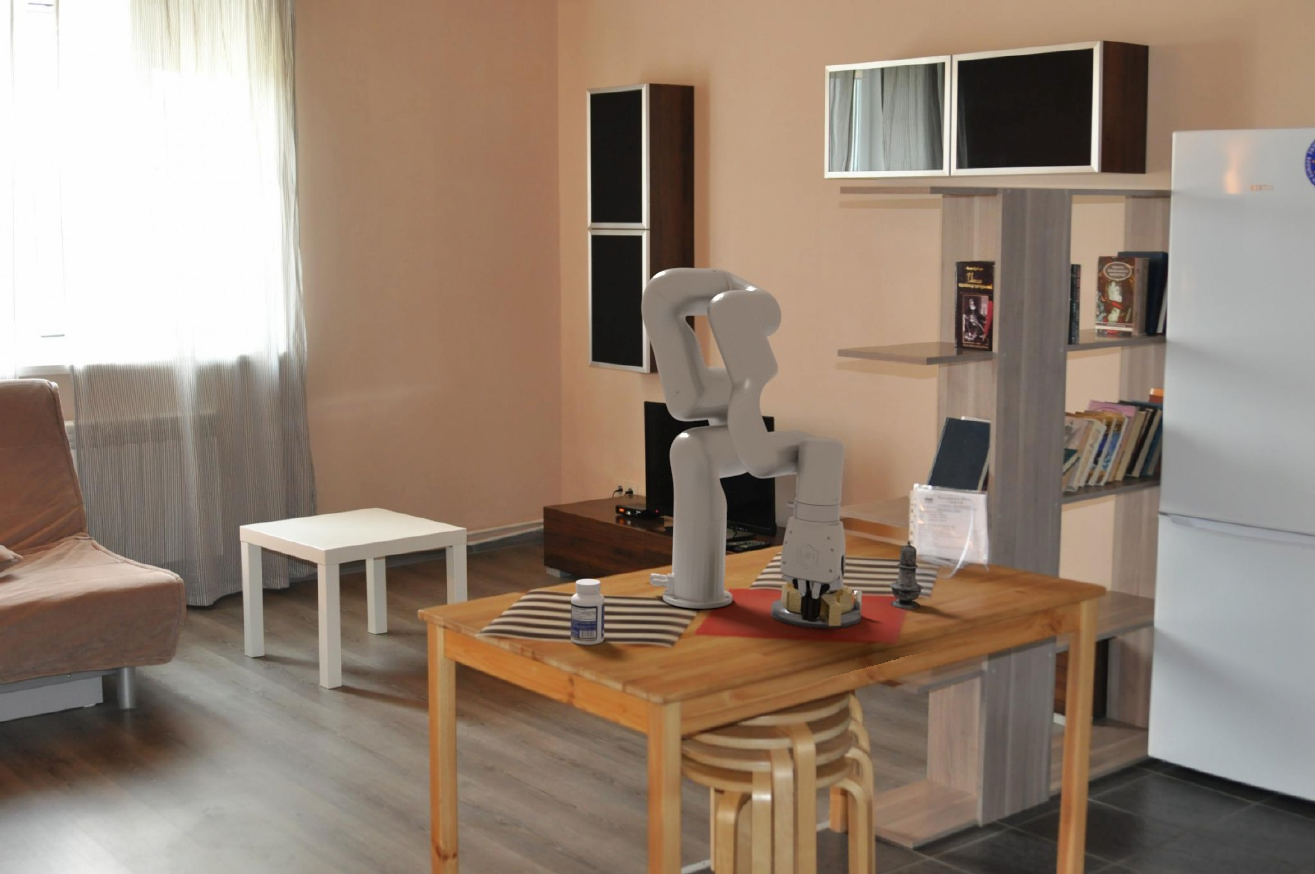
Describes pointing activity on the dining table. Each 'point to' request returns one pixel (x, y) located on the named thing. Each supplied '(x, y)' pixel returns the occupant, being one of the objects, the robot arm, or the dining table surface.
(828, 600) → the ring nut
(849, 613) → the spindle base
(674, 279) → the robot arm
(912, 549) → the salt shaker
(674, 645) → the dining table surface
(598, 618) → the pill bottle
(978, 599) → the dining table surface
